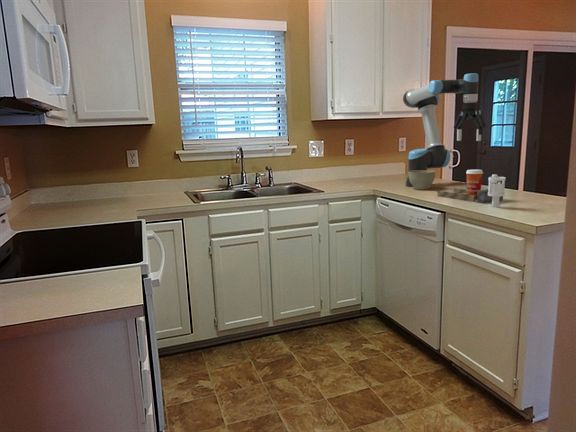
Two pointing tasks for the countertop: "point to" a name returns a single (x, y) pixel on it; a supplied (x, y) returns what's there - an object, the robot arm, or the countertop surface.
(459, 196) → the guide channel
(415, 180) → the planter bowl
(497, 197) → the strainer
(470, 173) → the coffee cup
